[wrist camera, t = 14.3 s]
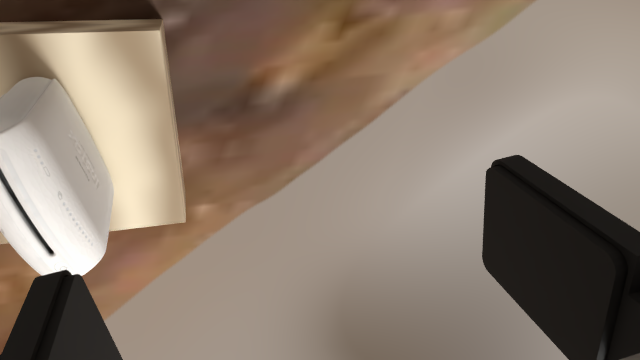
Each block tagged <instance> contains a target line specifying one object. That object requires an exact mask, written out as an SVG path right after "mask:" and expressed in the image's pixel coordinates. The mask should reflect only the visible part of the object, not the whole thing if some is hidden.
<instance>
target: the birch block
mask: <svg viewBox="0 0 640 360" xmlns="http://www.w3.org/2000/svg"><path fill="white" fill-rule="evenodd" d="M30 77H44V78H48V79H50V80H52V79H56V80H57V81H58V82H59V83H60V85H61V86H62V87H63V89H64V90H65V91H66V93H67V95H68V96H69V98H70V100H71V101H72V103H73V105H74V106H75V108H76V110H77V112H78V113H79V115H80V117H81V119H82V121H83V122H84V124H85V126H86V128H87V130H88V131H89V133H90V135H91V137H92V139H93V141H94V143H95V145H96V147H97V149H98V151H99V153H100V155H101V157H102V159H103V161H104V163H105V165H106V167H107V169H108V171H109V174H110V176H111V179H112V183H113V187H114V196H113V204H112V212H111V219H110V226H109V231H115V230H124V229H132V228H141V227H149V226H158V225H166V224H175V223H183V222H186V213H185V187H184V179H183V171H182V164H181V156H180V148H179V141H178V133H177V125H176V118H175V110H174V102H173V95H172V87H171V80H170V72H169V64H168V57H167V49H166V41H165V34H164V26H163V19H136V20H89V21H42V22H0V97H1V96H2V95H3V94H5V93H7V92H8V91H9V90H10V89H11V88H12V87H13V86H14V85H15V84H16V83H18V82H19V81H21V80H23V79H26V78H30ZM5 243H9V242H8V240H7V239H6V238H5V237H4V235H3V234H2V232H1V231H0V244H5Z"/></svg>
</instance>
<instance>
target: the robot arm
mask: <svg viewBox="0 0 640 360" xmlns="http://www.w3.org/2000/svg"><path fill="white" fill-rule="evenodd" d="M485 184H486V185H485V207H484V230H483V252H482V258H483V263H484V265H485V267H486V269H487V270H488V272H489V273H490V274H491V275H492V276H493V277H494V278H495V279H496V281H497V282H498V283H499V284H500V285H501V286H502V287H503V288H504V289H505V290H506V292H507V293H508V294H509V295H510V296H511V297H512V298H513V299H514V300H515V301H516V302H517V303H518V305H519V306H520V307H521V308H522V309H523V310H524V311H525V312H526V313H527V314H528V315H529V317H530V318H531V319H532V320H533V321H534V322H535V323H536V324H537V325H538V326H539V327H540V329H541V330H542V331H543V332H544V333H545V334H546V335H547V336H548V337H549V338H550V339H551V341H552V342H553V343H554V344H555V345H556V346H557V347H558V348H559V349H560V350H561V352H562V353H563V354H564V355H565V356H566V357H567V358H568V359H569V360H640V232H639V231H637V230H636V229H634V228H633V227H631V226H629V225H628V224H626V223H625V222H623V221H621V220H620V219H618V218H617V217H615V216H614V215H612V214H611V213H609V212H608V211H606V210H605V209H603V208H602V207H600V206H598V205H597V204H595V203H594V202H592V201H591V200H589V199H588V198H586V197H584V196H583V195H581V194H580V193H578V192H577V191H575V190H574V189H572V188H570V187H569V186H567V185H566V184H564V183H563V182H561V181H560V180H558V179H556V178H555V177H553V176H552V175H550V174H549V173H547V172H546V171H544V170H542V169H541V168H539V167H538V166H536V165H535V164H533V163H531V162H530V161H528V160H527V159H525V158H524V157H522V156H520V155H514V156H510V157H506V158H502V159H498V160H495V161H494V162H493V163H492V165H491V168H489V169H488V170H487V171H486V183H485ZM0 360H123V359H122V357H121V355H120V353H119V351H118V349H117V347H116V345H115V343H114V341H113V339H112V337H111V335H110V333H109V331H108V329H107V327H106V325H105V323H104V321H103V319H102V316H101V314H100V312H99V310H98V308H97V306H96V304H95V302H94V300H93V298H92V296H91V294H90V292H89V290H88V288H87V286H86V284H85V282H84V280H83V278H82V277H81V275H80V274H74V275H72V274H71V273H70V272H69V271H68V270H62V271H58V272H54V273H50V274H46V275H43V276H39V277H36V278H35V279H34V281H33V283H32V285H31V288H30V290H29V292H28V294H27V297H26V299H25V301H24V304H23V306H22V308H21V311H20V313H19V315H18V317H17V320H16V322H15V324H14V327H13V329H12V331H11V334H10V336H9V338H8V341H7V343H6V345H5V347H4V350H3V352H2V354H1V355H0Z"/></svg>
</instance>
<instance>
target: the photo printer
mask: <svg viewBox="0 0 640 360" xmlns="http://www.w3.org/2000/svg"><path fill="white" fill-rule="evenodd" d="M113 196H114V187H113V183H112V179H111V176H110V174H109V171H108V169H107V167H106V165H105V163H104V161H103V159H102V157H101V155H100V153H99V151H98V149H97V147H96V145H95V143H94V141H93V139H92V137H91V135H90V133H89V131H88V130H87V128H86V126H85V124H84V122H83V121H82V119H81V117H80V115H79V113H78V112H77V110H76V108H75V106H74V105H73V103H72V101H71V100H70V98H69V96H68V95H67V93H66V91H65V90H64V89H63V87H62V86H61V85H60V83H59V82H58V81H57V80H56V79H52V80H50V79H48V78H44V77H30V78H26V79H23V80H21V81H19V82H18V83H16V84H15V85H14V86H13V87H12V88H11V89H10V90H9V91H8V92H7V93H5V94H3V95H2V96H1V97H0V231H1V232H2V234H3V235H4V237H5V238H6V239H7V240H8V242H9V243H10V244H11V245H12V247H13V248H14V249H15V250H16V251H17V252H18V254H19V255H20V256H21V257H22V258H23V259H24V260H25V261H26V262H27V263H28V264H29V265H30V266H31V267H32V268H33V269H35V270H36V271H37V272H38V273H39V274H41V275H42V276H43V275H46V274H50V273H54V272H58V271H62V270H68V271H69V272H70V273H71V274H72V275H74V274H80V275H81V276H82V275H84V274H85V273H87V272H88V271H90V270H91V269H92V268H93V267H94V266H95V265H96V264H97V263H98V262H99V261H100V260H101V259H102V257H103V255H104V254H105V251H106V247H107V240H108V233H109V226H110V219H111V212H112V204H113Z"/></svg>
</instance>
